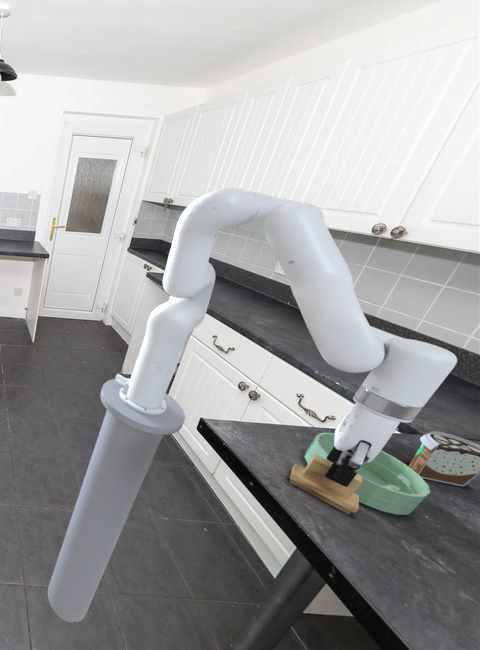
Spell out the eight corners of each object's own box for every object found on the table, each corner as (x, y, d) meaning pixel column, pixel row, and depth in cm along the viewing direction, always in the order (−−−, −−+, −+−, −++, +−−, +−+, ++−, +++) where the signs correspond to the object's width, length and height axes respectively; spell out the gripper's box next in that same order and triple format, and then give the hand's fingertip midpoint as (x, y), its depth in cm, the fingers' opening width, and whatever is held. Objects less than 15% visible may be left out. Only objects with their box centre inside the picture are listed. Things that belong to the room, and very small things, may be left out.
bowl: (299, 473, 75) (312, 453, 73) (307, 440, 86) (319, 423, 84) (415, 533, 64) (435, 513, 62) (407, 487, 75) (424, 468, 72)
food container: (442, 467, 82) (470, 436, 78) (471, 488, 76) (503, 456, 73) (384, 455, 84) (408, 424, 80) (408, 475, 78) (436, 443, 74)
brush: (287, 482, 73) (303, 457, 70) (290, 471, 76) (306, 446, 73) (351, 517, 66) (373, 491, 63) (352, 503, 69) (373, 478, 66)
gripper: (356, 378, 70) (314, 442, 77) (357, 409, 59) (308, 481, 66) (410, 396, 65) (360, 463, 72) (423, 434, 54) (363, 509, 61)
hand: (336, 471), depth 69 cm, fingers open, 6 cm apart
